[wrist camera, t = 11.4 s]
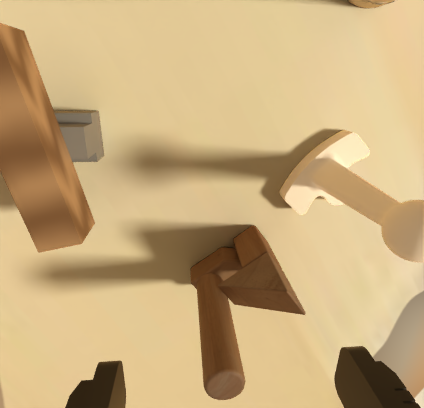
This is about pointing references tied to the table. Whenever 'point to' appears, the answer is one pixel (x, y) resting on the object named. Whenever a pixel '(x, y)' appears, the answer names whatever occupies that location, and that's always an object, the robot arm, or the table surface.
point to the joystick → (355, 193)
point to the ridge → (81, 134)
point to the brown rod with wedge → (240, 295)
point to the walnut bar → (37, 152)
